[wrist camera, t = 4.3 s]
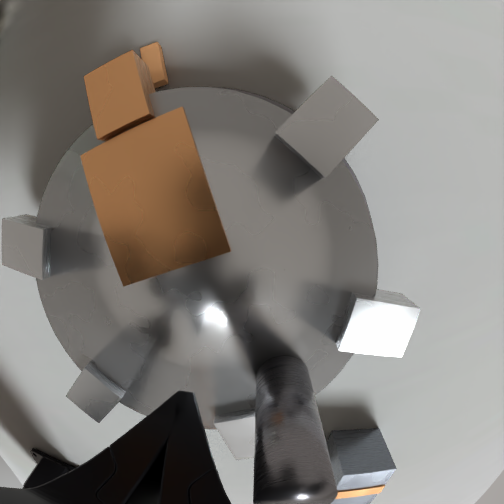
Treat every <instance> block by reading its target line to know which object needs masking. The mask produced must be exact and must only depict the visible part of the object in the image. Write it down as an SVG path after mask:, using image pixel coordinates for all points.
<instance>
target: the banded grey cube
mask: <svg viewBox="0 0 504 504" xmlns="http://www.w3.org/2000/svg"><path fill="white" fill-rule="evenodd" d="M327 448H328V452H329V456H330V461H331V465H332V469H333V474H334V478H335V483H336V487H337V491H338V494H337V497H336V499H335V500H334V501H333V502H332V503H331V504H370V503H371V501H372V500H373V499H374V498H375V497H376V495H377V494H378V493H380V492H381V491H382V489H383V488H384V487H385V484H386V482H387V481H388V480H389V478H390V477H391V476H392V474H393V473H394V471H395V470H396V466H395V464H394V462H393V459H392V457H391V455H390V452H389V450H388V448H387V445H386V443H385V441H384V438H383V436H382V434H381V432H380V429H379V428H373V429H360V430H339V431H332V432H331V434H330V436H329V439H328V441H327Z"/></svg>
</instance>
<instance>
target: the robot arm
mask: <svg viewBox="0 0 504 504" xmlns="http://www.w3.org/2000/svg"><path fill="white" fill-rule="evenodd" d="M30 452H31V454H32V456H33V457H34V459H35V461H36V463H37V465H36V467H35V468H34V470H33V471H32V473H31V474H30V476H29V477H28V478H27V480H26V481H25V483H24V485H23V486H24V487H23V488H22V489H17V488H6V487H0V504H231V502H230V500H229V499H228V497H227V495H226V493H225V490H224V488H223V485H222V483H221V480H220V477H219V474H218V471H217V469H216V466H215V462H214V459H213V456H212V453H211V450H210V446H209V443H208V440H207V436H206V433H205V429H204V426H203V422H202V418H201V415H200V411H199V407H198V404H197V400H196V396H195V393H194V392H189V391H182V390H179V391H177V392H176V393H175V394H174V395H172V396H171V397H170V398H169V399H168V400H166V401H165V402H164V403H163V404H161V405H160V406H159V407H158V408H157V409H155V410H154V411H153V412H152V413H150V414H149V415H148V416H147V417H145V418H144V419H143V420H142V421H140V422H139V423H138V424H137V425H135V426H134V427H133V428H132V429H130V430H129V431H128V432H127V433H125V434H124V435H123V436H121V437H120V438H119V439H118V440H116V441H115V442H114V443H112V444H111V445H110V447H107V448H106V449H104V450H103V451H102V452H100V453H99V454H97V455H96V456H94V457H93V458H92V459H90V460H89V461H87V462H85V463H84V464H82V465H80V466H78V467H77V468H74V467H72V466H69V465H67V464H65V463H63V462H60V461H58V460H56V459H54V458H52V457H50V456H48V455H46V454H44V453H42V452H40V451H38V450H36V449H34V448H32V450H31V451H30Z"/></svg>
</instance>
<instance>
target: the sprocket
mask: <svg viewBox="0 0 504 504" xmlns="http://www.w3.org/2000/svg"><path fill="white" fill-rule="evenodd" d="M84 81H85V86H86V91H87V97H88V102H89V106H90V111H91V116H92V120H93V124H92V125H91V126H90V127H89V128H88V129H87V130H86V131H85V132H83V133H82V134H81V135H80V136H79V137H78V138H77V139H76V140H75V142H74V143H73V144H72V145H71V147H70V148H69V149H68V150H67V152H66V153H65V154H64V155H63V157H62V158H61V160H60V162H59V163H58V165H57V167H56V168H55V170H54V172H53V174H52V175H51V178H50V180H49V182H48V184H47V187H46V189H45V192H44V194H43V197H42V200H41V204H40V208H39V211H38V215H37V217H36V216H32V215H27V214H25V215H19V216H14V217H9V218H3V219H2V265H4V266H7V267H9V268H12V269H14V270H17V271H19V272H22V273H25V274H27V275H30V276H33V277H35V278H36V281H37V285H38V290H39V294H40V298H41V301H42V304H43V307H44V310H45V313H46V316H47V318H48V320H49V322H50V324H51V327H52V329H53V331H54V333H55V335H56V336H57V338H58V340H59V341H60V343H61V345H62V346H63V348H64V349H65V351H66V352H67V354H68V355H69V356H70V357H71V359H72V360H73V361H74V363H75V364H76V365H77V366H78V367H79V369H80V370H81V371H82V372H81V374H80V375H79V377H78V378H77V380H76V381H75V383H74V384H73V386H72V387H71V389H70V390H69V392H68V393H67V395H66V397H67V398H69V399H70V400H71V401H72V402H73V403H74V404H76V405H77V406H78V407H79V408H80V409H82V410H83V411H84V412H85V413H86V414H88V415H89V416H90V417H91V418H93V419H94V420H95V421H97V422H98V423H100V421H101V420H102V419H103V418H104V417H105V416H106V415H107V414H108V413H109V412H110V411H111V410H112V409H113V408H114V407H115V405H116V404H117V403H118V402H120V403H122V404H123V405H125V406H127V407H129V408H131V409H133V410H135V411H137V412H139V413H141V414H143V415H146V416H148V415H149V414H150V413H152V412H153V411H154V410H155V409H157V408H158V407H159V406H160V405H161V404H163V403H164V402H165V401H166V400H168V399H169V398H170V397H171V396H172V395H174V394H175V393H176V392H177V391H179V390H182V391H189V392H194V393H195V396H196V400H197V404H198V407H199V411H200V415H201V418H202V422H203V426H204V429H217V430H218V432H219V433H220V435H221V437H222V438H223V440H224V441H225V443H226V445H227V446H228V448H229V449H230V451H231V453H232V454H233V456H234V457H235V459H236V460H242V459H249V458H254V493H253V503H254V504H331V503H332V502H333V501H334V500H335V499H336V497H337V494H338V491H337V487H336V483H335V478H334V474H333V469H332V465H331V461H330V456H329V452H328V448H327V443H326V439H325V435H324V431H323V427H322V423H321V419H320V414H319V410H318V406H317V402H316V398H315V395H316V394H317V393H319V392H320V391H321V390H322V389H324V388H325V387H326V386H327V385H328V384H329V383H330V382H331V381H332V380H333V379H334V378H335V377H336V376H337V375H338V374H339V372H340V371H341V370H342V369H343V367H344V366H345V365H346V363H347V362H348V361H349V359H350V358H351V356H352V355H353V354H354V353H362V354H371V355H382V356H393V357H402V355H403V352H404V350H405V348H406V346H407V343H408V341H409V338H410V336H411V333H412V331H413V328H414V326H415V323H416V321H417V318H418V315H419V313H420V310H421V309H420V308H419V307H418V306H417V305H415V304H414V303H413V302H412V301H410V300H409V299H408V298H407V297H405V296H404V295H403V294H400V293H395V292H390V291H385V290H379V289H377V278H378V256H377V244H376V237H375V233H374V228H373V224H372V220H371V216H370V213H369V210H368V208H367V205H366V203H365V200H364V198H363V195H362V193H361V190H360V188H359V187H358V185H357V183H356V181H355V180H354V178H353V176H352V175H351V173H350V171H349V169H348V168H347V166H346V165H345V164H344V162H343V161H342V160H343V159H344V157H345V156H346V155H347V154H348V153H349V152H350V151H351V150H352V149H353V148H354V146H355V145H356V144H357V143H358V142H359V141H360V140H361V139H362V138H363V137H364V135H365V134H366V133H367V132H368V131H369V130H370V129H371V128H372V127H373V126H374V124H375V123H376V122H377V121H378V120H379V119H378V118H377V117H376V116H375V115H374V114H373V113H372V112H371V111H370V110H369V109H368V108H367V107H366V106H365V105H364V104H363V103H361V102H360V101H359V100H358V99H357V98H356V97H355V96H354V95H353V94H352V93H351V92H350V91H349V90H347V89H346V88H345V87H344V86H343V85H342V84H341V83H340V82H338V81H337V80H336V79H335V78H334V77H333V76H331V77H330V78H329V79H328V80H327V81H326V82H325V83H324V84H323V85H322V86H320V87H319V88H318V89H317V90H316V91H315V92H314V93H313V94H312V95H311V96H310V97H309V98H308V99H307V100H306V101H305V102H304V103H303V104H302V105H301V106H300V107H299V108H298V109H297V110H296V111H295V112H294V113H293V114H291V113H289V112H288V111H286V110H284V109H282V108H280V107H278V106H276V105H274V104H272V103H269V102H267V101H265V100H263V99H261V98H257V97H254V96H251V95H248V94H244V93H241V92H238V91H233V90H226V89H220V88H212V87H182V88H175V89H169V90H163V91H158V92H156V91H155V88H154V85H153V81H152V78H151V74H150V70H149V67H148V65H147V64H146V63H145V62H144V61H143V60H142V59H141V58H140V57H139V56H138V55H137V54H136V53H135V52H134V51H133V50H131V51H129V52H127V53H125V54H123V55H121V56H119V57H117V58H115V59H113V60H111V61H109V62H108V63H106V64H104V65H102V66H100V67H99V68H97V69H95V70H93V71H92V72H90V73H88V74H87V75H85V76H84Z"/></svg>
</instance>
